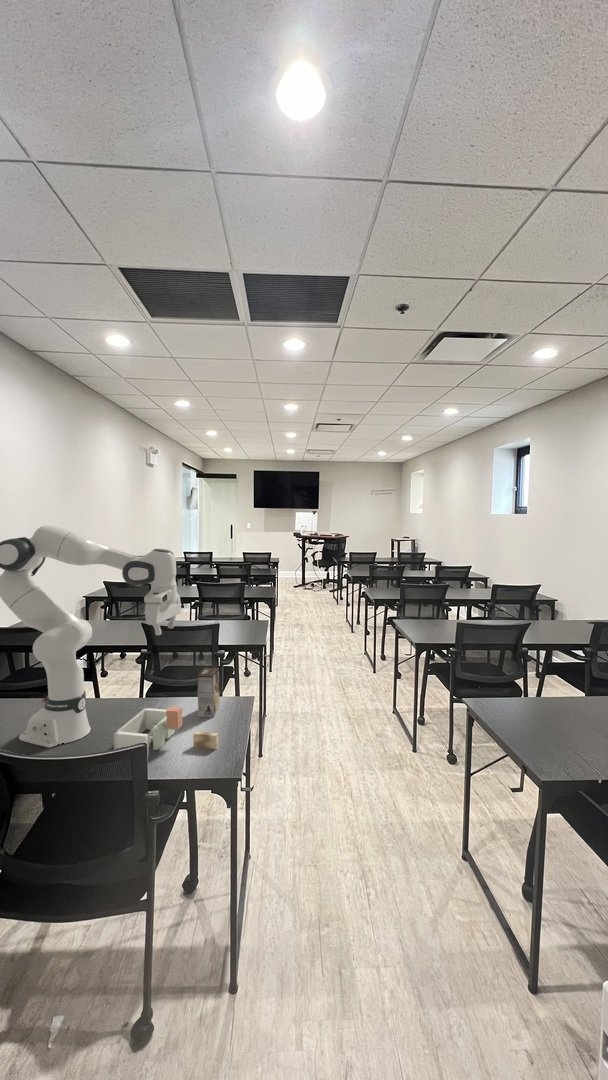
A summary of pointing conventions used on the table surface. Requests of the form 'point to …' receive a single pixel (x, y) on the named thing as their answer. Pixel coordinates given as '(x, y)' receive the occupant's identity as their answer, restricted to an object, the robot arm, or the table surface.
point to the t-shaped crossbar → (167, 726)
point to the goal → (138, 728)
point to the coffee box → (208, 692)
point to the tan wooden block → (205, 740)
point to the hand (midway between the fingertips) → (165, 631)
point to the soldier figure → (151, 734)
